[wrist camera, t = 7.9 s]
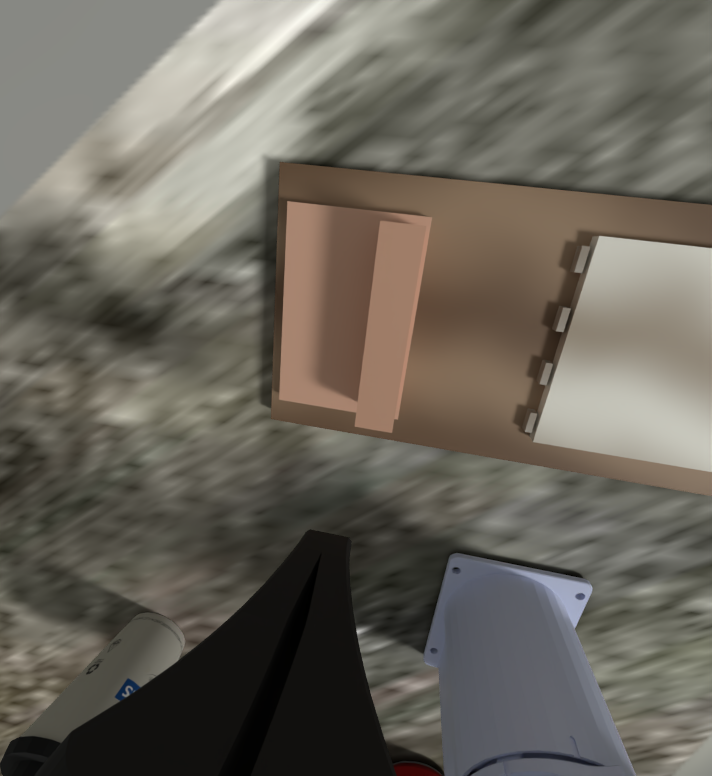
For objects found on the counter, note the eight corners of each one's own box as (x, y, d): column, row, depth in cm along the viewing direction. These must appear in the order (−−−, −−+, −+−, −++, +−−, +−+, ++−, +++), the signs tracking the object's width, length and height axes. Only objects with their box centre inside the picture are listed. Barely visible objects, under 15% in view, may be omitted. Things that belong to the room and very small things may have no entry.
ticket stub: (398, 414, 19) (395, 444, 16) (283, 395, 19) (259, 420, 16) (431, 218, 15) (435, 210, 12) (291, 203, 16) (264, 191, 13)
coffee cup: (122, 653, 31) (-6, 826, 21) (112, 592, 28) (-37, 757, 19) (201, 673, 30) (104, 861, 21) (197, 612, 28) (86, 794, 18)
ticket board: (745, 492, 18) (774, 513, 17) (277, 411, 21) (266, 423, 19) (900, 228, 14) (957, 226, 12) (287, 167, 16) (274, 158, 15)
